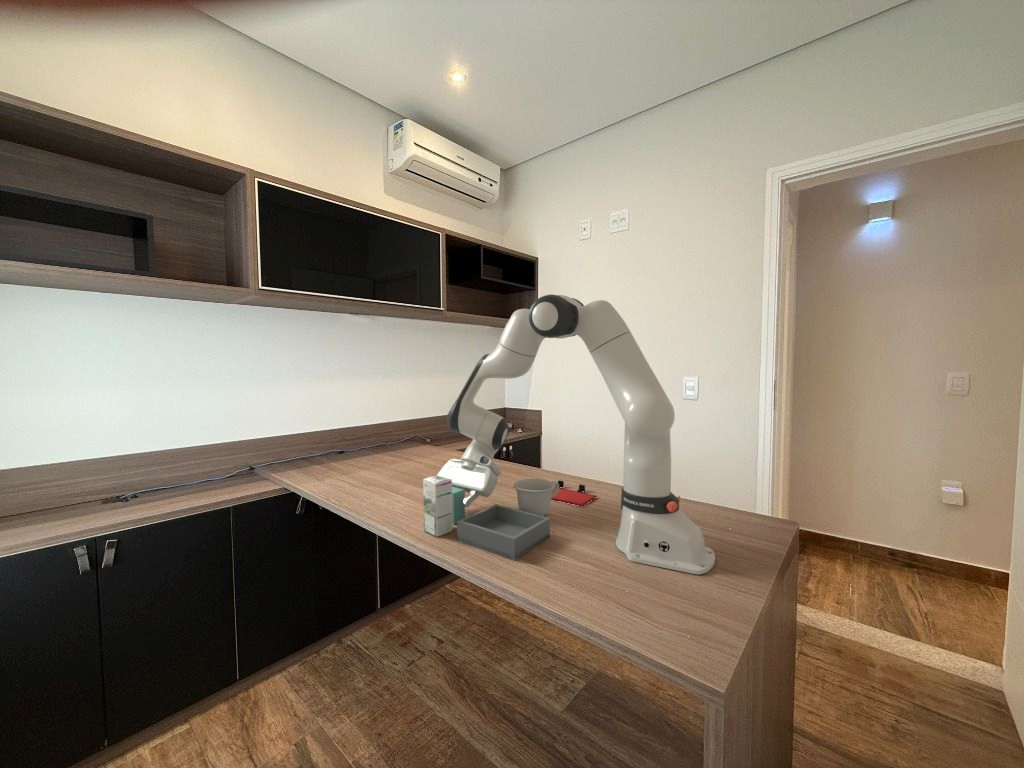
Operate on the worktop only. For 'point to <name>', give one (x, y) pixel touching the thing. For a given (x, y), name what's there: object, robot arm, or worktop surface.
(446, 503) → the syrup box
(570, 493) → the red flat slab
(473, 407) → the robot arm
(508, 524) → the tote
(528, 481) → the teacup
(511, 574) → the worktop surface
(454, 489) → the teal block
